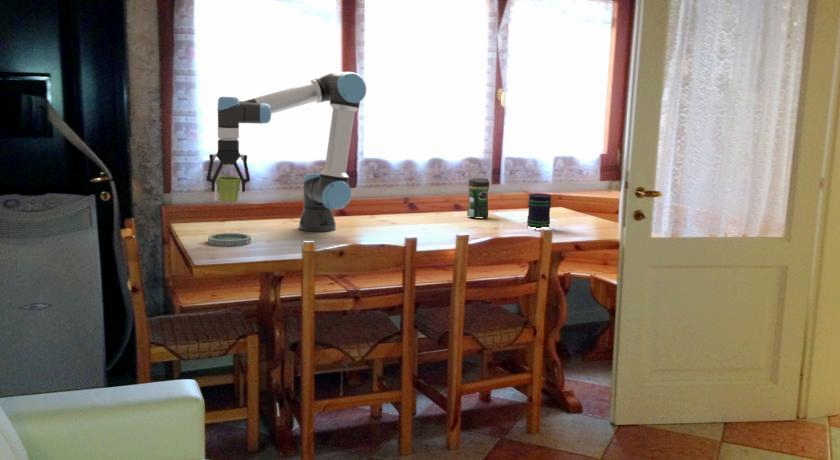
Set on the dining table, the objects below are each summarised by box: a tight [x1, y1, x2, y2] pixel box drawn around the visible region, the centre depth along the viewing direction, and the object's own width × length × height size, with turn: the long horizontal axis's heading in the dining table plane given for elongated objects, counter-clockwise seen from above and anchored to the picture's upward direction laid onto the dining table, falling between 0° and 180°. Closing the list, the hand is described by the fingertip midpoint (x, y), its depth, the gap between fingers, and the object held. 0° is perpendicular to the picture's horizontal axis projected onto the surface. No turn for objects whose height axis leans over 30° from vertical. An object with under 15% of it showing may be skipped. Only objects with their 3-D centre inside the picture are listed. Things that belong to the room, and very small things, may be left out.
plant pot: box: [215, 176, 241, 203], centre depth 302 cm, size 9×9×9 cm
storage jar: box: [526, 193, 552, 228], centre depth 355 cm, size 10×10×15 cm
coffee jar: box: [466, 177, 490, 218], centre depth 380 cm, size 10×8×19 cm
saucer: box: [207, 232, 252, 247], centre depth 304 cm, size 16×16×2 cm
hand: (228, 200), depth 303 cm, fingers closed on plant pot, 8 cm apart
